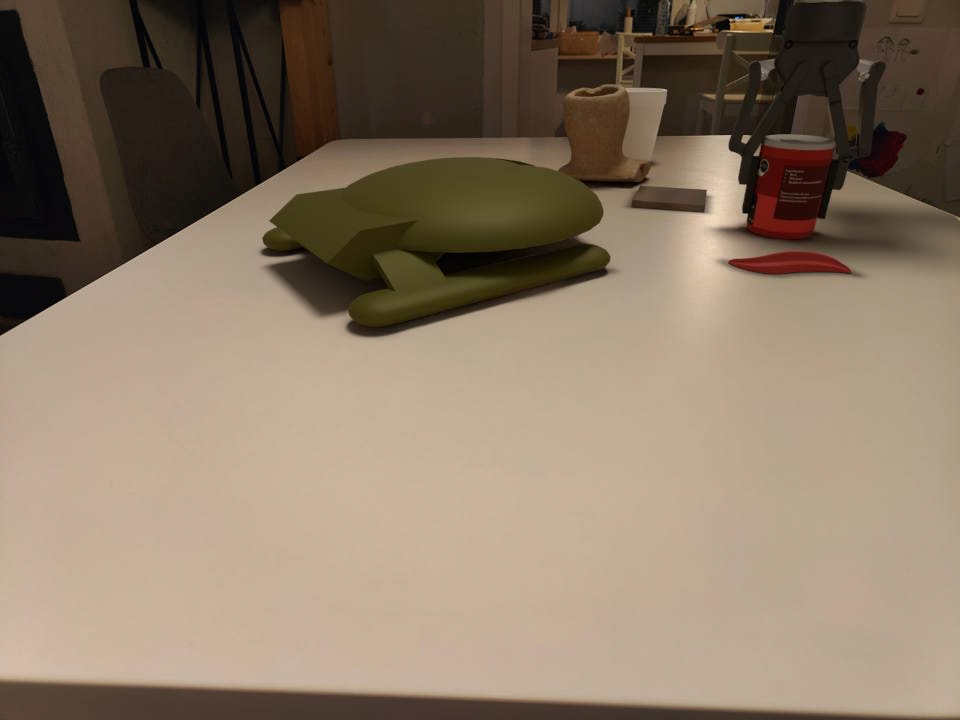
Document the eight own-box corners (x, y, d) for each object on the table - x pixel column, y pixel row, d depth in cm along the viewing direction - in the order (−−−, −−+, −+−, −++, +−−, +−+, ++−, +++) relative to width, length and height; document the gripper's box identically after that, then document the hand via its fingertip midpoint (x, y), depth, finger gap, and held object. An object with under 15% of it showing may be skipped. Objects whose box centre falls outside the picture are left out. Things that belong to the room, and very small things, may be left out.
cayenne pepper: (726, 268, 65) (729, 251, 64) (729, 255, 69) (732, 239, 68) (855, 283, 61) (860, 264, 60) (850, 268, 64) (855, 251, 64)
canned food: (763, 219, 82) (781, 132, 77) (824, 231, 77) (848, 139, 71) (732, 229, 78) (749, 138, 73) (794, 244, 72) (818, 146, 67)
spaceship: (364, 340, 51) (351, 222, 46) (258, 247, 73) (242, 162, 69) (658, 260, 67) (670, 168, 63) (498, 205, 90) (498, 134, 86)
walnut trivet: (706, 196, 94) (707, 189, 94) (704, 212, 86) (705, 204, 85) (639, 192, 97) (640, 185, 97) (631, 206, 89) (632, 199, 88)
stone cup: (549, 186, 101) (553, 87, 94) (564, 172, 111) (569, 82, 104) (643, 192, 97) (655, 88, 90) (650, 177, 107) (661, 82, 100)
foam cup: (598, 161, 121) (604, 89, 115) (635, 157, 125) (643, 87, 119) (630, 169, 113) (638, 92, 107) (668, 164, 117) (678, 90, 111)
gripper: (726, 2, 65) (693, 214, 76) (953, -4, 59) (883, 228, 70) (726, 4, 72) (696, 201, 82) (931, -1, 66) (870, 212, 76)
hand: (782, 213), depth 76 cm, fingers closed on canned food, 8 cm apart
